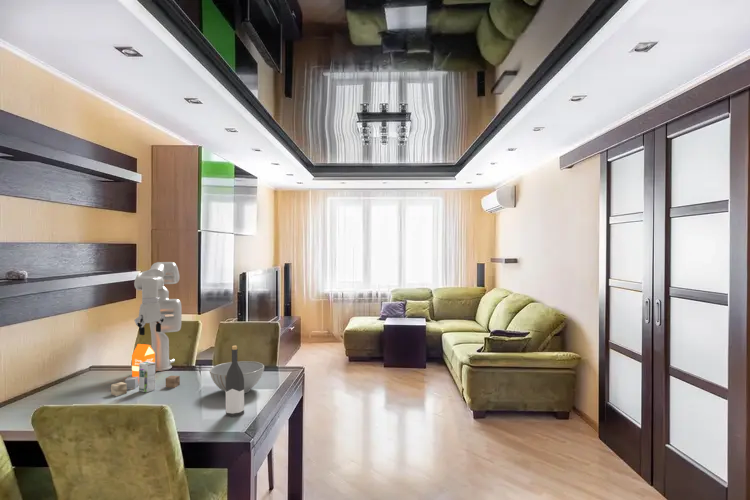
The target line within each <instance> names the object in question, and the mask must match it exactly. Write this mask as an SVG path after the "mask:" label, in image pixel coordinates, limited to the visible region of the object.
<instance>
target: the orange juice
mask: <svg viewBox="0 0 750 500" xmlns="http://www.w3.org/2000/svg"><path fill="white" fill-rule="evenodd" d="M145 361H150V362H155V352H154V351H153V349H152V345H150V344H144V343H142V344H141V343H137V345H136V347H135V349H134V351H133V352H132V355H131V377H139V363H141V362H145Z"/></svg>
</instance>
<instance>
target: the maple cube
mask: <svg viewBox="0 0 750 500" xmlns="http://www.w3.org/2000/svg"><path fill="white" fill-rule="evenodd" d="M110 385H111V386H110V390H111V391H110V393H111V394H110V395H112V396H116V397H118V396H122V395H125V394H128V392H127V390H128V389H127V383H125V382H122V381H120V382H117V383H112V384H110Z"/></svg>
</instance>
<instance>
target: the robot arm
mask: <svg viewBox="0 0 750 500" xmlns="http://www.w3.org/2000/svg"><path fill="white" fill-rule="evenodd" d="M179 281H180V271H179V268H178V265H177V264H176V263H175V262H173V261H161V262H160V261H157V262H154V263H153V264H151V266H150V269H147V270H143V271H142V272H140V273H137V275H136V277H135V279H134V282H133V284H134V288H135V290H137V291H141V303H140V306H139V311H138V317H136V318H135V319H134V323H135V325H136V326H137V327H138V328H139V329H138V332H139V336H145V333H146V330H145V325H146V324H149V328H150V338H151V348H152V349H153V351H154V352H155V372H163V371H168V370H170V369H171V368H172V367H173V365H172V363H175V361H176V360H175V358H172V359H170V339H169V336H168V335H167V334H166V333H174V332H175V333H176V332H179V331H180V330H181V329H182V310H183V309H182V302H181V300H180V299H178V298H169V297H170V295H169V294H170V291H169V289H168V288H167V287H166V286H165V285H174V284H178V283H179ZM166 315H169V316H166ZM171 315H172V316H171Z"/></svg>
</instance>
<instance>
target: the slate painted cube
mask: <svg viewBox="0 0 750 500" xmlns="http://www.w3.org/2000/svg"><path fill="white" fill-rule="evenodd" d="M124 383H127V390H131V389H132V390H133V389H136V388H139V377H132V376H128V377H126V378H125V379H124Z"/></svg>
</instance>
